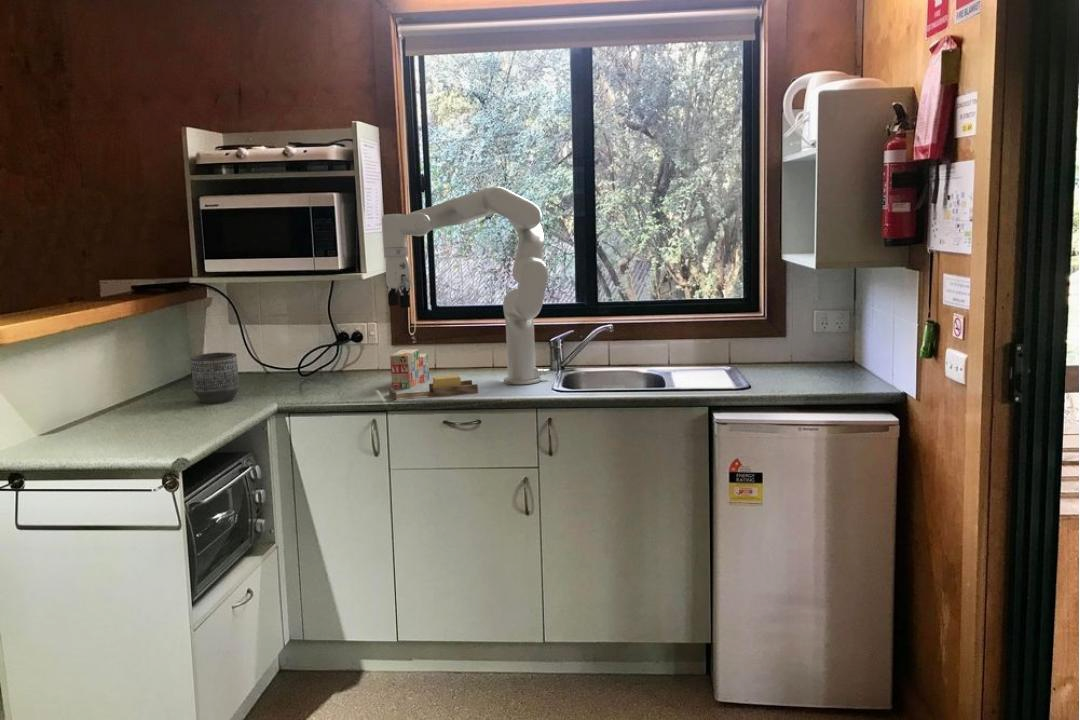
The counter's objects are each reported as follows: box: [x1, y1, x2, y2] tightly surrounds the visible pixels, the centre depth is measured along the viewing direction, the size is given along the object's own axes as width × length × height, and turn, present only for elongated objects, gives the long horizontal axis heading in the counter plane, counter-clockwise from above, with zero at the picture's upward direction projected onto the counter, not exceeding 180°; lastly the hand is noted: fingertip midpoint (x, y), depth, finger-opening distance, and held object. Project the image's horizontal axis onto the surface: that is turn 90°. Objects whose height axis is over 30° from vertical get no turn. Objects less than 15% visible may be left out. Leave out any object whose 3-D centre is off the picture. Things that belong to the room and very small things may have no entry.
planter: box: [190, 351, 240, 405], centre depth 306 cm, size 14×14×15 cm
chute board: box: [388, 379, 479, 401], centre depth 302 cm, size 27×10×3 cm, turn 107°
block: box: [432, 374, 462, 390], centre depth 303 cm, size 8×5×5 cm, turn 107°
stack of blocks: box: [389, 348, 430, 390], centre depth 322 cm, size 21×6×12 cm, turn 169°
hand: (399, 306), depth 304 cm, fingers open, 9 cm apart
